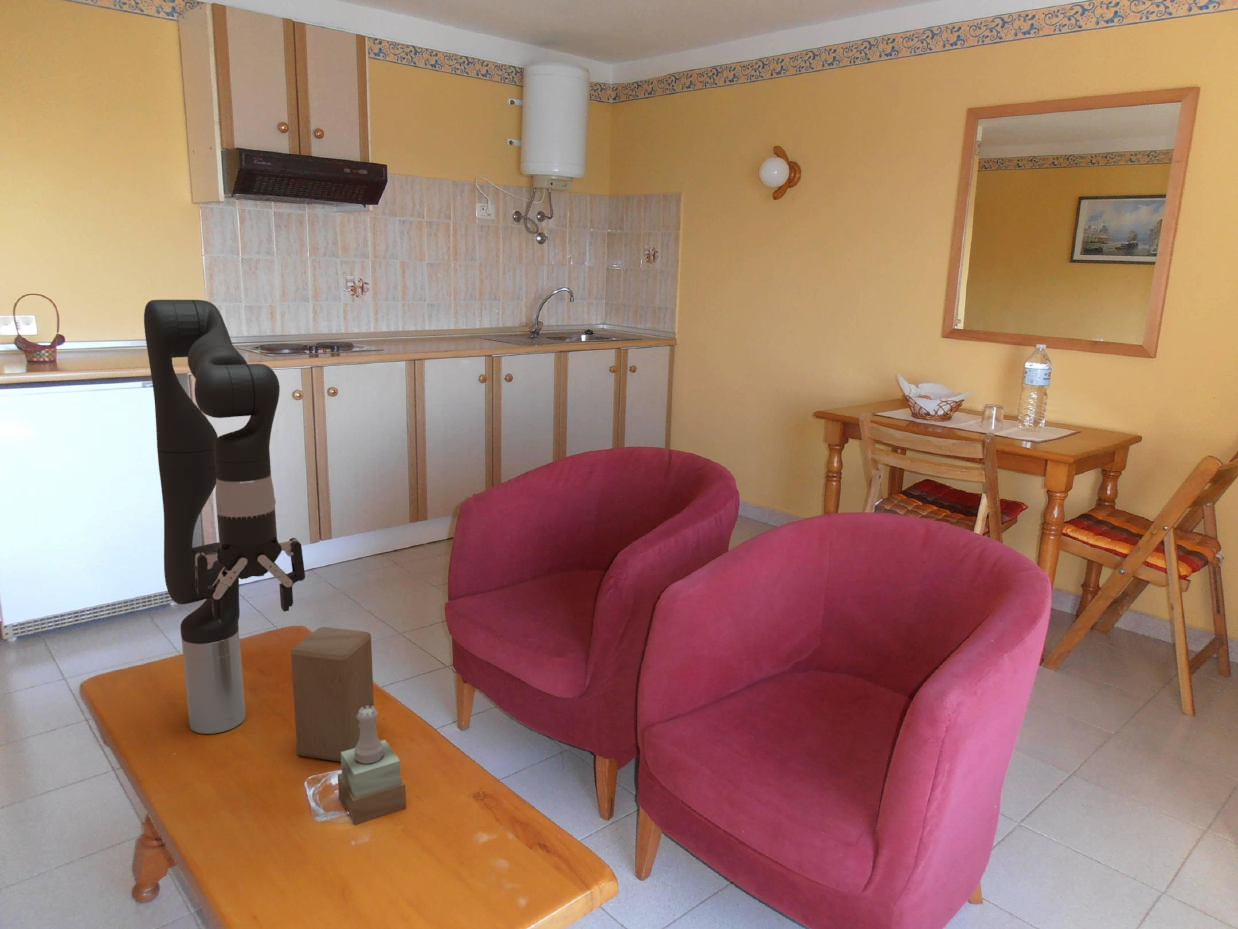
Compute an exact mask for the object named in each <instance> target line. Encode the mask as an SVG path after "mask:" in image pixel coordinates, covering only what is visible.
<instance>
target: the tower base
mask: <svg viewBox="0 0 1238 929" xmlns="http://www.w3.org/2000/svg"><path fill="white" fill-rule="evenodd" d="M380 742H381V743H382V744H383V750H384V755H383V756H382V757H381V759H380V760H378V761H377V762H374V763H371V764H362V763H360V762H358V761H357V760H356V759H355V758H354V754H355V752H354V751H355V748H354V749H350V750H347V751H343V752H341V762H340V764H341V765H340V766H341V767H340V768H341V773H338V774H337V786H338V787H337V789H338V790H337V791H338V799H339V800H340V802H341V803H342V806H343V807H344V809H345V811H346V810H347V811H348V812H349V814H348V816H349V817H350V820H351V821H352V824H353V826H355V825H358V824H362V823H365V822H368V821H371V820H373V819H372V818H374V819H376V818H375V817H377V818H379V817H382V816H385V815H388V814H392V813H395V812H397V810H398V811H400V810H405V809H406V808H407V795H406V794H407V792H406V784H405V782H404V781H403V779H402V778H401V777H402V775H401V774H402V772H401V760H400V758H399V757H398V755H396V753H395V752H394V750H393V749H392V748H391V746H390V744H389V743H388V742H387V741H386V739H382V740H380ZM405 807H406V808H405ZM347 811H346V812H347ZM367 820H368V821H367Z"/></svg>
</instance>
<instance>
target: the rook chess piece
mask: <svg viewBox="0 0 1238 929" xmlns="http://www.w3.org/2000/svg"><path fill="white" fill-rule="evenodd" d="M379 715H380V714H379V712H378V711H377V709H376V707H375V705H374V706H371V708H369V706H366V709H364V707H361V708H360V710H359V713H358V714H357V716H356V718H357V719H358V720H359V721H360V723H359V724H358V727H359V728H360V736H359V741H358V742H357V745H356V747H355V751H354V752H355V754H354V758H355V759H356V760H357V761H358V762H360V763H362V764H371V763H374V762H377V761H378V760H380V759H381V757H382V756H383V755H384V750H383V744H382V743H381V742H380V741H381V739H380V738H379V736H378V735H379V734H378V732H377V725H378V721H377V718H378V717H379Z"/></svg>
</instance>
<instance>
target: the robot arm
mask: <svg viewBox="0 0 1238 929" xmlns="http://www.w3.org/2000/svg"><path fill="white" fill-rule="evenodd" d="M143 327H144V328H143V329H144V335H145V336H144V337H145V344H146V350H147V355H148V364H149V369H150V376H151V383H152V391H153V397H154V398H153V399H154V412H155V428H156V431H155V432H156V448H157V462H158V471H159V480H160V487H161V497H162V509H163V510H162V511H163V572H164V581H165V585H166V589H167V592H168V595H169V597H170V598H171V600H172V601H173V602H174V603H176V604H177V605H187V604H191V603H197V602H201V601H203V603H202V604H201V605H200V606H199V607H197V608H196V609H195V610H194V611H192V612H191V613H189V614H187V615H186V616H185V617H184V618H183V619H182V620H181V623H180V628H179V629H180V636H181V646H182V656H183V668H184V679H185V689H186V690H185V691H186V700H187V712H188V722H189V724H188V725H189V728H190V730H192V731H193V732H195V733H198V734H204V735H206V734H207V735H213V734H218V733H223V732H227V731H229V730H232V729H234V728H236V727H238V726H239V725H240V724H242V723H243V722H244V721H245V719H246V705H245V692H244V691H245V690H244V679H243V667H242V665H243V664H242V655H241V654H242V653H241V652H242V651H241V644H240V643H241V641H240V640H241V639H240V631H239V630H240V629H239V620H240V612H241V611H240V610H241V609H240V580H245V579H249V578H251V577H265V575H266V574H267V573H270V574H271V575H272V576H273V577H274V578H275V579H277V581H279V582H280V583H279V584H278V585H279V596H280V598H279V599H280V601H279V602H280V607H281V610H282V611H283V612H288V611H290V608H291V607H293V604H294V595H293V586H294V584H295V583H298V582H302V581H304V580H305V579H306V573H305V565H304V556H303V548H302V544H301V542H300V541H299V540H298V539H297V537H296V538H295V537H291V538H290V539H289V540H287V541H283V542H279V540H278V533H277V532H278V531H277V517H276V516H277V515H276V514H277V513H276V503H277V502H276V498H275V491H274V490H275V488H274V484H273V480H272V471H271V470H272V467H271V455H270V443H271V434H272V428H273V423H274V420H275V415H276V411H277V407H278V404H279V399H280V386H281V385H280V382H279V379H278V376H277V374H276V373H275V371H274V370H273V369H272V368H271V367H270V366H268V365H266V364H263V363H248V361H246V359H245V358H244V356H243V354H241V352H239V350H237V348H235V346H234V345H233V343H232V338H231V336H230V334H229V331H228V329H227V326H226V324H225V321H224V319H223V316H222V314H221V312H220V310H219V309H218V308H217V306H216V305H215V304H214V303H212V302H210V301H208V300H202V299H151V300H149V301H148V302H147V303H146V305H145V307H144V312H143ZM173 358H187V366H188V368H189V370H190V373H191V374H192V376H193V377H194V379H195V382H194V397H195V402H196V403H194V401H193V400H192V399H191V397H190V396H189V395H188V393H187V391H186V390H185V388H183V385H182V384H181V383H180V380H179V379H178V377H177V374H176V371H175V369H174V365H173ZM206 416H208V417H211V418H217V419H225V418H238V417H249V419H248V421H247V423H246V424H245V425H244V426H243V427H241V428H240V429H237V430H235V431H231V432H228V433H225V434H222V435H219V436H218V433H217V431H216V430H215V428H214V426H213V425H212V423H211V422H210V421H209V419H208V417H206ZM214 489H215V504H216V516H217V530H218V541H217V542H212V543H208V544H204V545H199V546H194V547H193V540H194V534H195V533H194V532H195V529H196V524H197V522H198V519H199V516H200V514H201V513H202V510H203V509H204V507H205V506H206V504H207V502H208V500H209V499H210V497H211V495H212V493H213V492H214ZM282 551H283V552H284V553H285V554H286V556H288V557H290V562H291V564H290V565H291V569H292V570H291V571H290V572H288V573H286V572H285V571H284V570H283V569H282V568H281V567H280V566H279V565H278V564H277V563H276V561H277V559H278V558H279V557H280V555H281V554H282ZM204 600H205V601H204Z"/></svg>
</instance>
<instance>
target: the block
mask: <svg viewBox="0 0 1238 929" xmlns="http://www.w3.org/2000/svg"><path fill="white" fill-rule="evenodd" d="M372 650H373V649H372V635H371V633H370V632H369V631H368V632H367V631H365V630H364V631H362V630H354V629H347V628H345V629H344V628H337V627H327V626H321V627H318V628H317V629H316V630H315V631H313V632H312V633H311V634H309V635H308V636H307V637H304V638H303V639H302V640H301V641H300V642H298V643H297V644H295V645H293V647H292V648H291V650H290V651H291V652H290V656H291V657H290V660H291V661H290V662H291V675H292V688H293V690H292V691H293V705H294V706H293V707H294V720H295V722H294V723H295V738H296V739H295V740H296V752H297V754H298V755H300V756H302V757H308V758H309V757H310V758H314V759H319V760H320V759H322V760H327V761H334V762H340V763H341V752H343V751H347V750H350V749H354V748H355V747H356V745H357V742H358V741H359V736H360V728H359V727H358V724H359V723H360V721H359V720H358V719H357V718H356V716H357V714H358V713H359V710H360V708H361V707H364V709H366V706H369V708H371V706H374V707H375V702H374V700H375V698H374V674H373V672H374V671H373V651H372Z"/></svg>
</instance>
